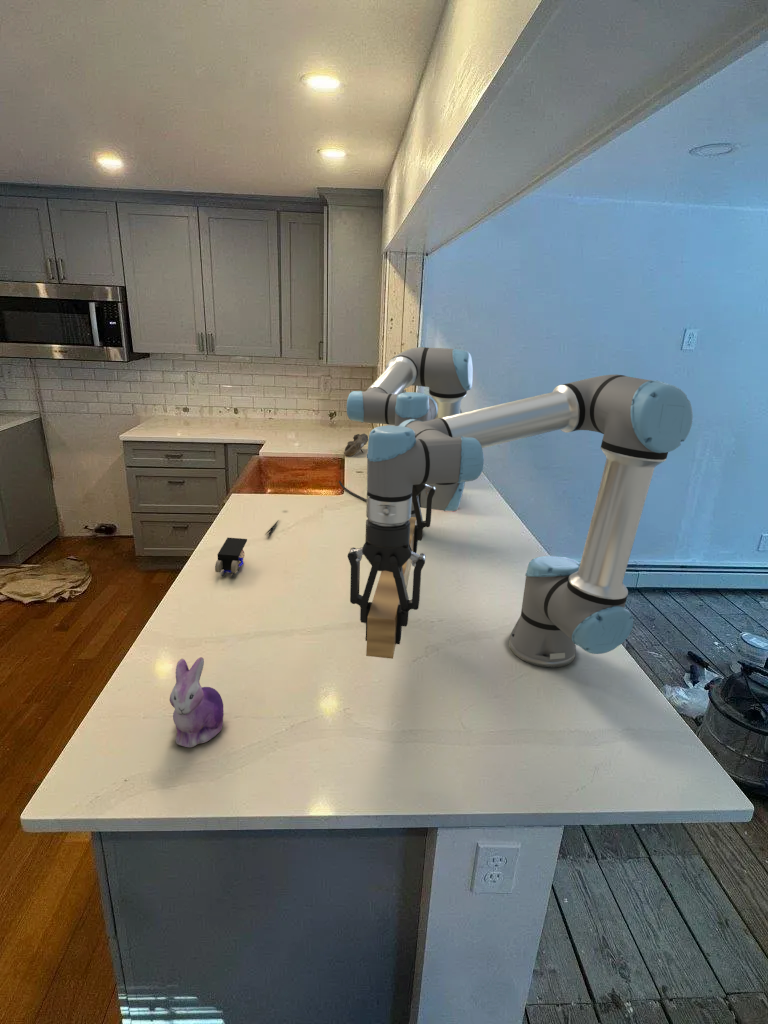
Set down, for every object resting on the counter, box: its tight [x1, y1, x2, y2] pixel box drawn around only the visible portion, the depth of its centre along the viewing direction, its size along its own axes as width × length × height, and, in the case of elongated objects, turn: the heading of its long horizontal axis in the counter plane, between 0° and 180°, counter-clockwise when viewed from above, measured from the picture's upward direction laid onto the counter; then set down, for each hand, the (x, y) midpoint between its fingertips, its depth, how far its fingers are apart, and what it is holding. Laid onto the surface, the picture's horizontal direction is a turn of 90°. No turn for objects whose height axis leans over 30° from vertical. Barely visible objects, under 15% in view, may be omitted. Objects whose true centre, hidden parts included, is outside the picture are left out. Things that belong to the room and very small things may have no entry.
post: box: [365, 517, 416, 660], centre depth 121 cm, size 51×5×8 cm, turn 173°
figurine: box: [169, 657, 225, 748], centre depth 102 cm, size 9×10×15 cm
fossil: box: [343, 432, 369, 457], centre depth 306 cm, size 22×10×15 cm
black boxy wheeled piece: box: [214, 537, 248, 578], centre depth 166 cm, size 7×8×15 cm
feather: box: [265, 520, 279, 539], centre depth 203 cm, size 2×28×2 cm
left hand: (404, 550), depth 141 cm, fingers closed on post, 5 cm apart
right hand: (383, 638), depth 103 cm, fingers closed on post, 5 cm apart
